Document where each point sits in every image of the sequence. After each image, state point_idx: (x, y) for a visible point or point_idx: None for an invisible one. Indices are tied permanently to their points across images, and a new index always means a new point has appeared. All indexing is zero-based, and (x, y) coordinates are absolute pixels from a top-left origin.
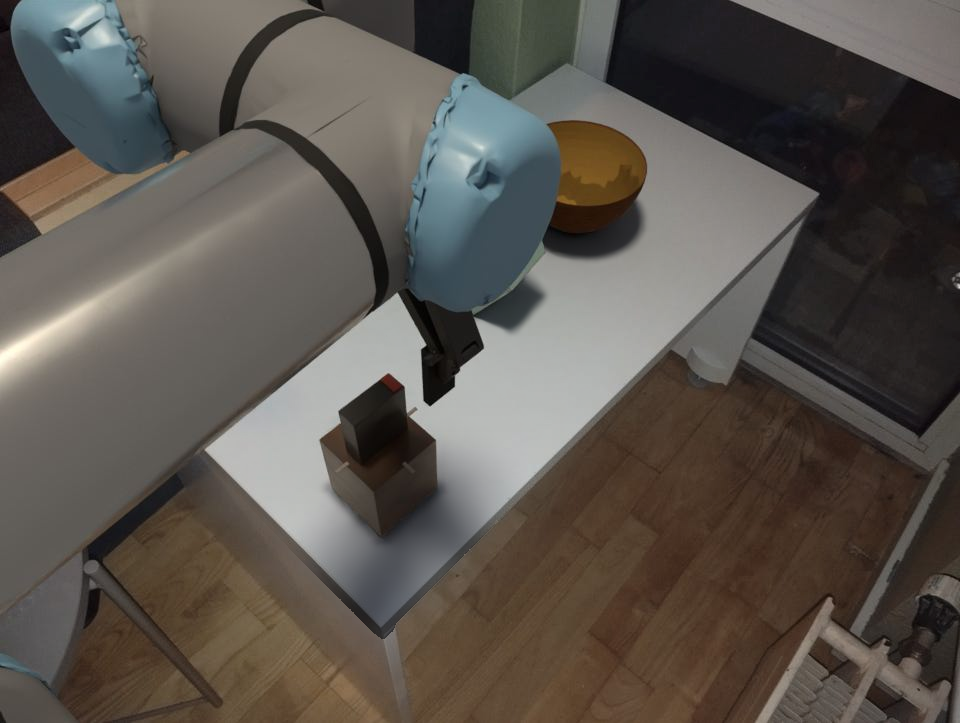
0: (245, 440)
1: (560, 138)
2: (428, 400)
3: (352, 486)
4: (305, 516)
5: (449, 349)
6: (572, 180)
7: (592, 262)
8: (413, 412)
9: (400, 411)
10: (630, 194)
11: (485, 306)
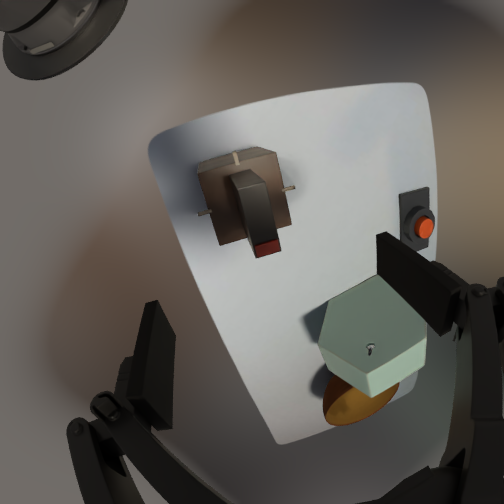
0: (329, 110)
1: (384, 392)
2: (146, 310)
3: (229, 159)
4: (245, 119)
5: (78, 450)
6: None
7: (314, 371)
8: None
9: (247, 235)
10: (331, 406)
11: (325, 315)
